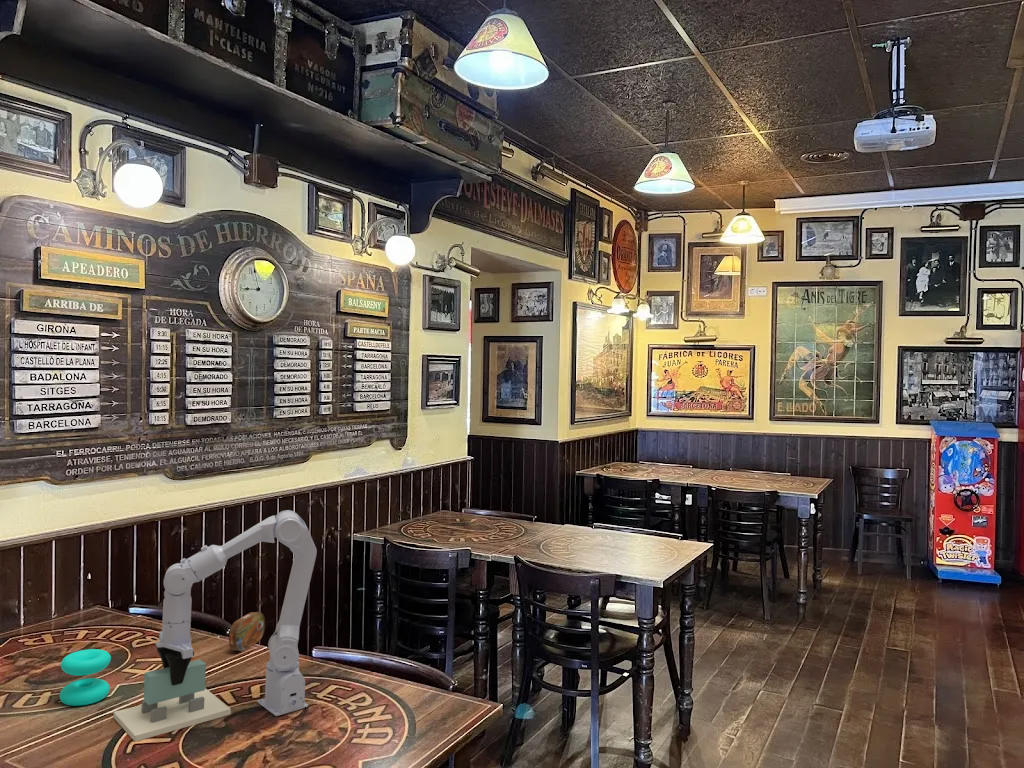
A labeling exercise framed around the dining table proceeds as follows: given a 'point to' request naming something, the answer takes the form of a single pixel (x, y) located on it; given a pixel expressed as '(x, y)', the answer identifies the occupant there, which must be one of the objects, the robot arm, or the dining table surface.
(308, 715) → the dining table surface
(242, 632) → the tin
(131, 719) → the hinge board
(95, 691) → the donuts
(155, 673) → the teal rectangular block
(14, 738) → the dining table surface
